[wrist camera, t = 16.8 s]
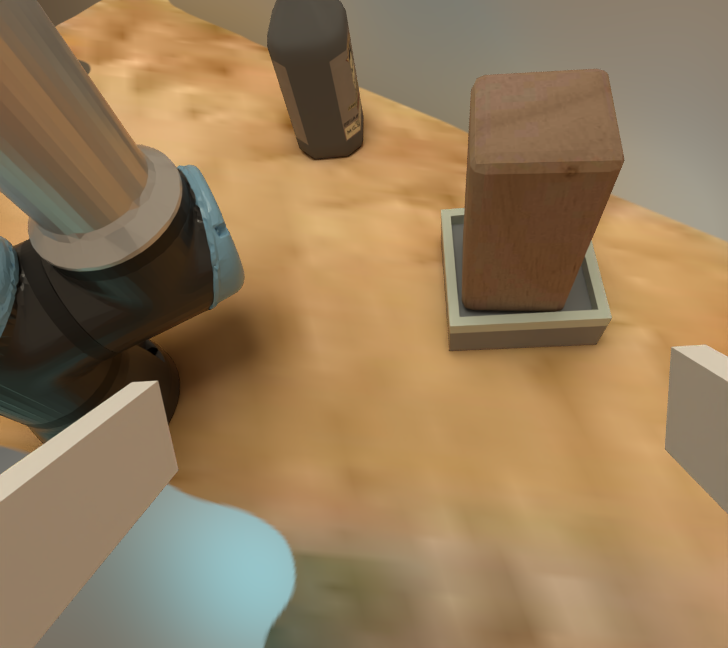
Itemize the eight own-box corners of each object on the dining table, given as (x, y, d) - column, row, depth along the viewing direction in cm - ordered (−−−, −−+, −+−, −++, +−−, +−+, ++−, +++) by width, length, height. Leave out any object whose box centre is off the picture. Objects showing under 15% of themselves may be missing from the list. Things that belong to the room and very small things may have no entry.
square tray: (449, 350, 53) (450, 326, 48) (441, 240, 60) (441, 209, 55) (596, 344, 51) (611, 318, 46) (569, 231, 58) (580, 198, 53)
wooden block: (564, 316, 48) (631, 159, 31) (461, 313, 50) (470, 163, 33) (556, 236, 53) (611, 61, 36) (462, 236, 55) (471, 69, 38)
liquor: (300, 162, 70) (216, -93, 44) (305, 119, 75) (231, -135, 49) (363, 156, 69) (315, -109, 43) (364, 113, 73) (321, -151, 47)
